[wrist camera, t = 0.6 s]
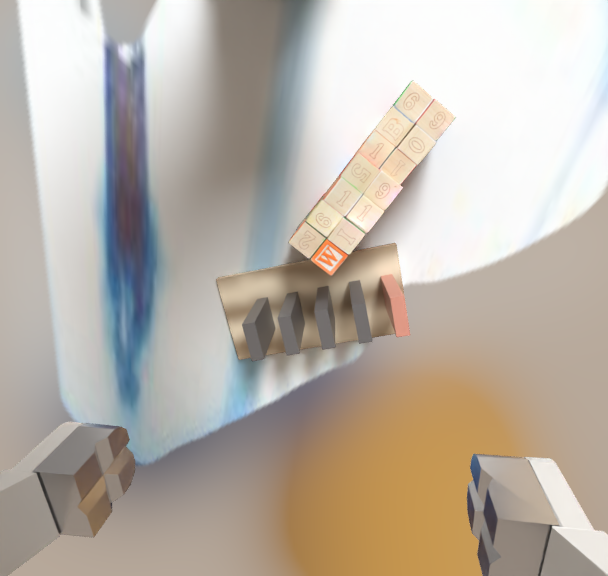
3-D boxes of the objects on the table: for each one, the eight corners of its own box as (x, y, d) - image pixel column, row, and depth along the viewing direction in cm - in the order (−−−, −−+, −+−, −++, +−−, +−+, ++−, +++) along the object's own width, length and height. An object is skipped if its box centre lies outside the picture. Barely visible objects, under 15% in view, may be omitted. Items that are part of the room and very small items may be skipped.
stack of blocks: (399, 94, 50) (419, 71, 38) (436, 127, 50) (467, 113, 39) (296, 228, 55) (286, 243, 44) (331, 255, 56) (330, 277, 44)
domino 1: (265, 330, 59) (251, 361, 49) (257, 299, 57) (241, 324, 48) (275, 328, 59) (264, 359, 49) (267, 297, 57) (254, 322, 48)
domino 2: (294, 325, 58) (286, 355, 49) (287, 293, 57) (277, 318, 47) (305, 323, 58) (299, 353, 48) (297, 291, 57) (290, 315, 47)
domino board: (218, 277, 58) (216, 279, 57) (395, 242, 55) (396, 244, 54) (240, 356, 62) (238, 359, 61) (408, 328, 58) (409, 331, 57)
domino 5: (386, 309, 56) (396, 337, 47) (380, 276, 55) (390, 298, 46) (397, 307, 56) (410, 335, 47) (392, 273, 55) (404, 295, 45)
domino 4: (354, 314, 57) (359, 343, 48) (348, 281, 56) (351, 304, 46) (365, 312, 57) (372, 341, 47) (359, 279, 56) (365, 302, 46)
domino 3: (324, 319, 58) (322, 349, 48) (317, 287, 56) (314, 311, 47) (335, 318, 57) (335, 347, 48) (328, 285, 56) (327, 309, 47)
